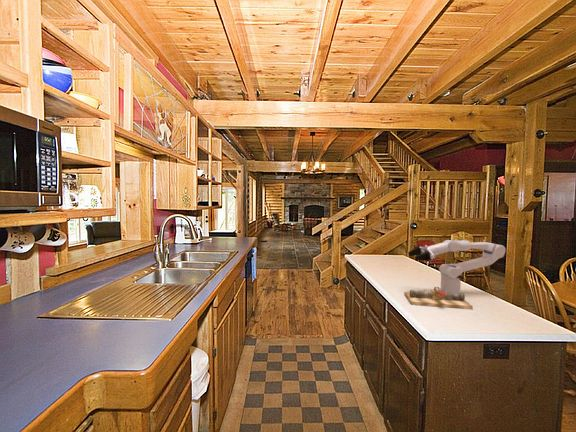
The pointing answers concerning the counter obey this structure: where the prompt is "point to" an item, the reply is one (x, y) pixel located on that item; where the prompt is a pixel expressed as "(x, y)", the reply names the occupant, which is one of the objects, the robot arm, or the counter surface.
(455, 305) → the valve board
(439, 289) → the valve lever
